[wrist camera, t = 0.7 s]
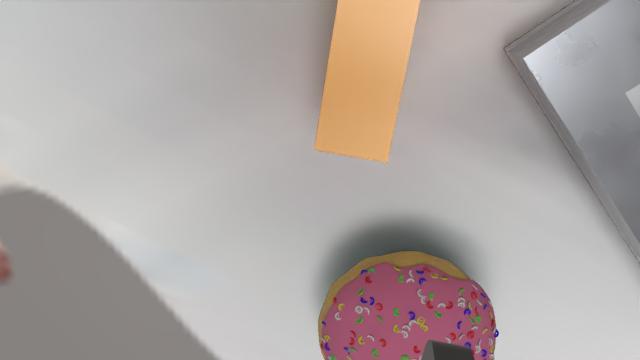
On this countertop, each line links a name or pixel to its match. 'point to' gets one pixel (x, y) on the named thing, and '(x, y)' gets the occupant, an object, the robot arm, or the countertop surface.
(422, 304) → the cupcake
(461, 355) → the robot arm
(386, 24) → the orange arch block
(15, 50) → the countertop surface
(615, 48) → the metal panel
